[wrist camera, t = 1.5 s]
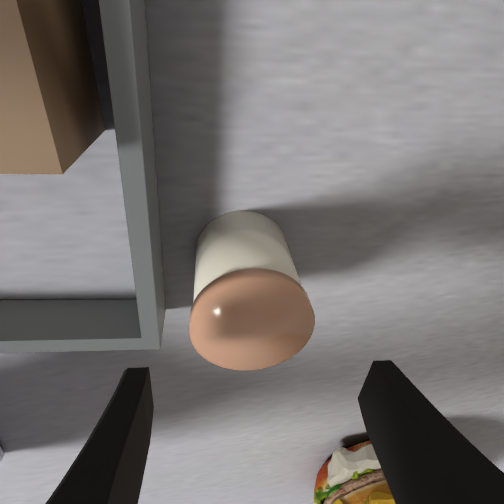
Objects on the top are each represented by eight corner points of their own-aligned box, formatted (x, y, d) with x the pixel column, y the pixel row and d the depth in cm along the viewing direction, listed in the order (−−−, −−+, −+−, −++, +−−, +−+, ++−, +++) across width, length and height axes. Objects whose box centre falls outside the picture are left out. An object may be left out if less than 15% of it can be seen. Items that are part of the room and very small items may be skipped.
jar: (281, 287, 19) (303, 368, 15) (194, 287, 19) (189, 372, 14) (294, 210, 17) (326, 280, 12) (193, 207, 16) (188, 280, 12)
